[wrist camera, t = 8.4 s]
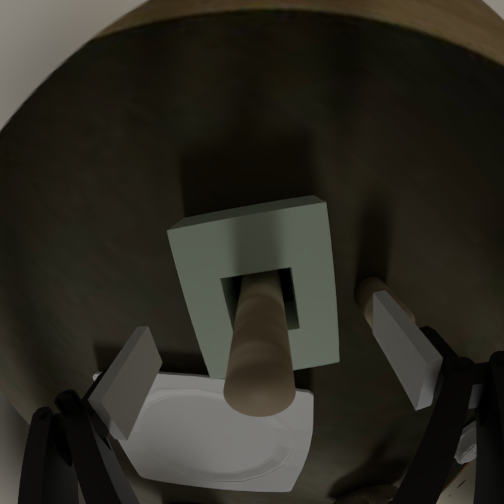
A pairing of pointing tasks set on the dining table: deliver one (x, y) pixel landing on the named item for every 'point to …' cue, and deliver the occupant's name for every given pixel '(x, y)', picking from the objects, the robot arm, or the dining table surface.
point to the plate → (217, 437)
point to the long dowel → (260, 350)
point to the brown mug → (369, 495)
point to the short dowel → (365, 297)
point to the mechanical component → (467, 444)
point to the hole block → (253, 261)
